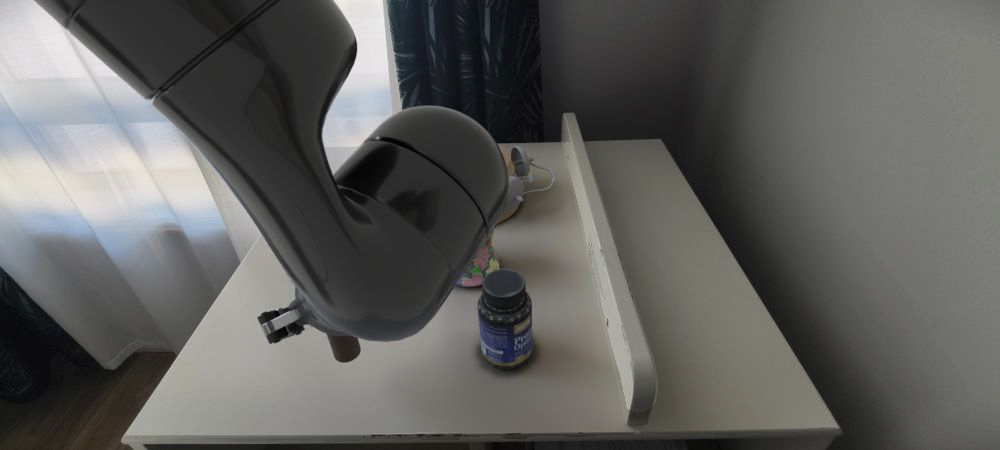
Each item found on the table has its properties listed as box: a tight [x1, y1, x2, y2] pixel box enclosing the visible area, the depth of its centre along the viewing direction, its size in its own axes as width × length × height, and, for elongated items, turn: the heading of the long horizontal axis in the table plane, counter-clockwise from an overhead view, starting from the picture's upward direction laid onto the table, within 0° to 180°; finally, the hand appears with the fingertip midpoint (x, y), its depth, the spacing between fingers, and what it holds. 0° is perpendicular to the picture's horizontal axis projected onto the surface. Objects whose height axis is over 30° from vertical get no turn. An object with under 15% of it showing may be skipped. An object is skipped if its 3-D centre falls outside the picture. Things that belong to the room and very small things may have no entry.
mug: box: [455, 228, 501, 288], centre depth 67 cm, size 12×9×11 cm
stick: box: [326, 334, 362, 364], centre depth 49 cm, size 3×3×12 cm
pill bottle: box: [477, 268, 533, 370], centre depth 56 cm, size 6×6×11 cm
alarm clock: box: [497, 144, 556, 224], centre depth 83 cm, size 17×9×23 cm
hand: (328, 307), depth 51 cm, fingers closed on stick, 3 cm apart
